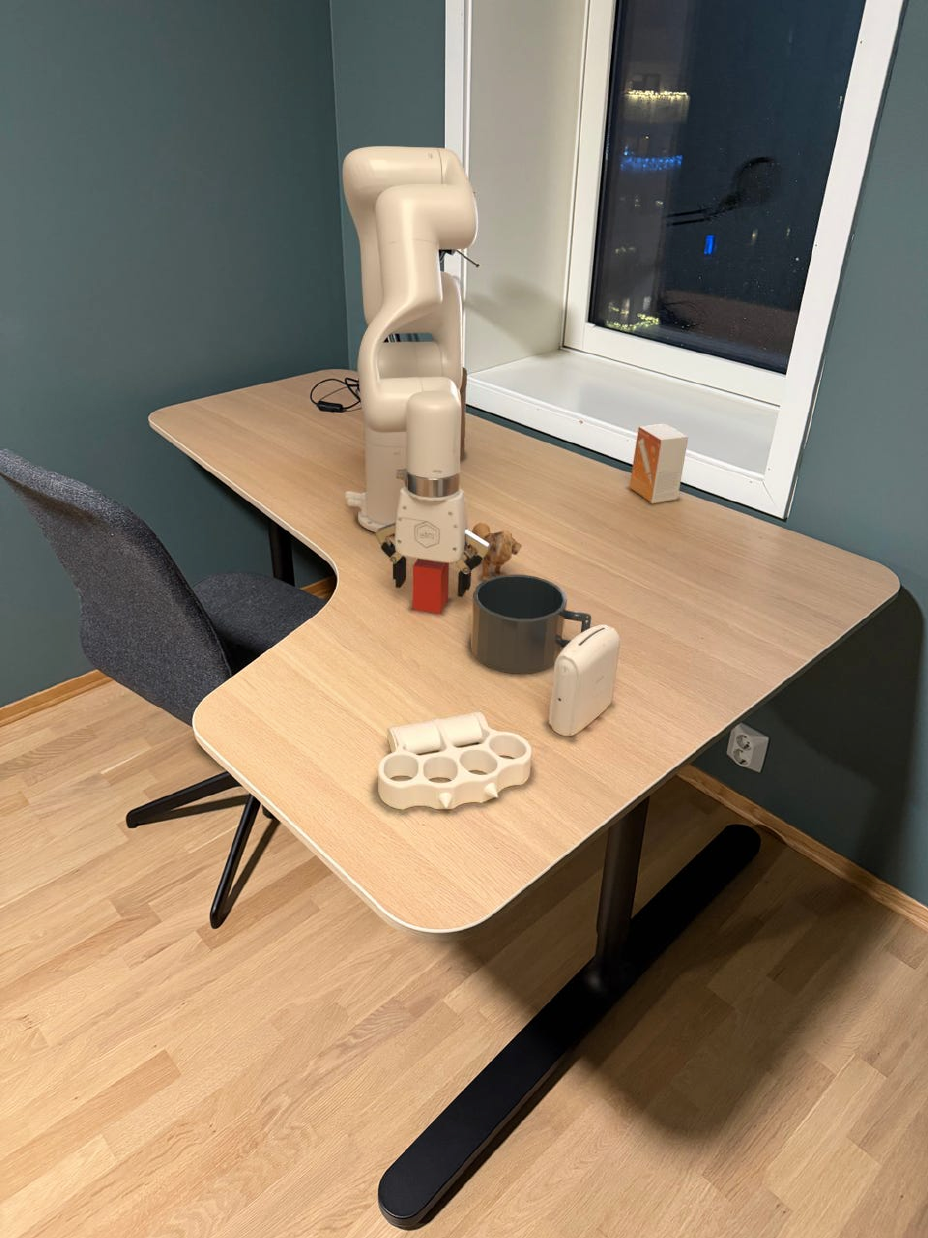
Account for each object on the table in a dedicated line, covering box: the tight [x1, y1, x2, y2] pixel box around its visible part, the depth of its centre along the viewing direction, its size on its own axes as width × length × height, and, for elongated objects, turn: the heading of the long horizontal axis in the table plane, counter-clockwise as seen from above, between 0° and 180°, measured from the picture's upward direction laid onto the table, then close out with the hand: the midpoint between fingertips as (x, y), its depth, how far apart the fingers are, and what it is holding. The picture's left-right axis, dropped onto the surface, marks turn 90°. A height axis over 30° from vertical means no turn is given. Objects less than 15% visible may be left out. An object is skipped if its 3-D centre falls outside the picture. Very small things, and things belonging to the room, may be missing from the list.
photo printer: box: [548, 624, 621, 737], centre depth 109 cm, size 10×4×12 cm, turn 140°
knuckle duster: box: [377, 710, 533, 811], centre depth 101 cm, size 3×18×15 cm
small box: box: [629, 423, 689, 504], centre depth 171 cm, size 8×6×13 cm
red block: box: [412, 559, 450, 615], centre depth 133 cm, size 4×4×8 cm
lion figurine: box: [466, 522, 523, 581], centre depth 143 cm, size 15×5×9 cm, turn 28°
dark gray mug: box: [470, 573, 592, 675], centre depth 122 cm, size 16×13×8 cm
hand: (431, 588), depth 132 cm, fingers open, 9 cm apart
